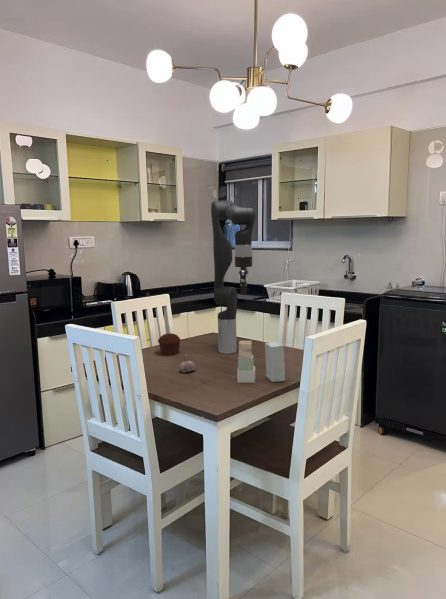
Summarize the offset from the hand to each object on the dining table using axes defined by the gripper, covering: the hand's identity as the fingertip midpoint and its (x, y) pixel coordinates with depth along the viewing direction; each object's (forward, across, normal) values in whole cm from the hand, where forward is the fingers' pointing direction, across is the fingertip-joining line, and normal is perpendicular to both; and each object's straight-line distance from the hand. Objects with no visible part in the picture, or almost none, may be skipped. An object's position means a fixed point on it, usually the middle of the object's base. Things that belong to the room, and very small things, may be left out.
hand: (243, 293), depth 195 cm
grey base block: (+34, +14, +1) cm, 37 cm away
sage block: (+29, +14, +1) cm, 32 cm away
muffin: (+34, -26, -39) cm, 58 cm away
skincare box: (+34, +12, +13) cm, 39 cm away
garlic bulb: (+34, +3, -25) cm, 43 cm away
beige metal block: (+24, +14, +1) cm, 28 cm away
